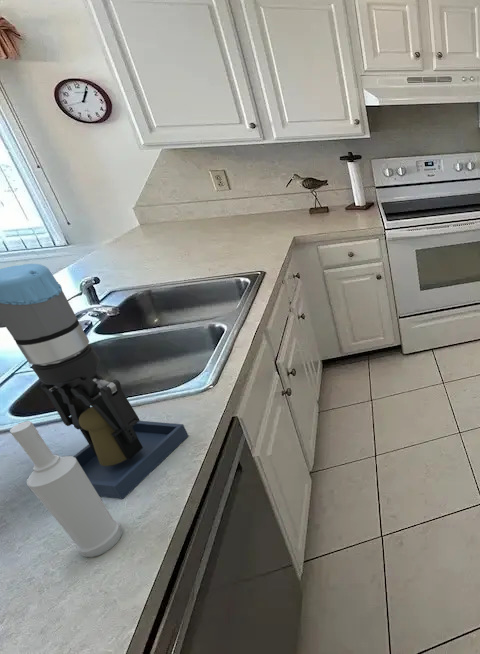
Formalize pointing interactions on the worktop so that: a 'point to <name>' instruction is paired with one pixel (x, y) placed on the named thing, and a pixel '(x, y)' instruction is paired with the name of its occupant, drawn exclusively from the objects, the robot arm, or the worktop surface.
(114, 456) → the cork
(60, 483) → the bottle
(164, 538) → the worktop surface
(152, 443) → the tray
